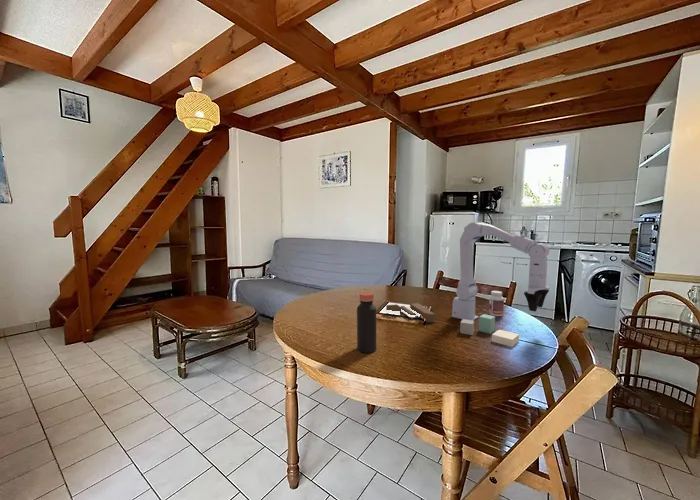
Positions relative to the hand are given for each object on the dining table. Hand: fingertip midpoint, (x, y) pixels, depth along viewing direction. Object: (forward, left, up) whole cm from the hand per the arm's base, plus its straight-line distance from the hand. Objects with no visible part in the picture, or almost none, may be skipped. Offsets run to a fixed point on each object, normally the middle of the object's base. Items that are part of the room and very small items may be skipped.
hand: (535, 308), depth 115 cm
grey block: (-20, -17, -10) cm, 28 cm away
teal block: (-15, -10, -10) cm, 20 cm away
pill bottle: (-20, +14, -10) cm, 26 cm away
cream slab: (-6, -16, -10) cm, 20 cm away
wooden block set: (-47, -18, -11) cm, 51 cm away
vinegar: (-38, -57, -10) cm, 69 cm away
